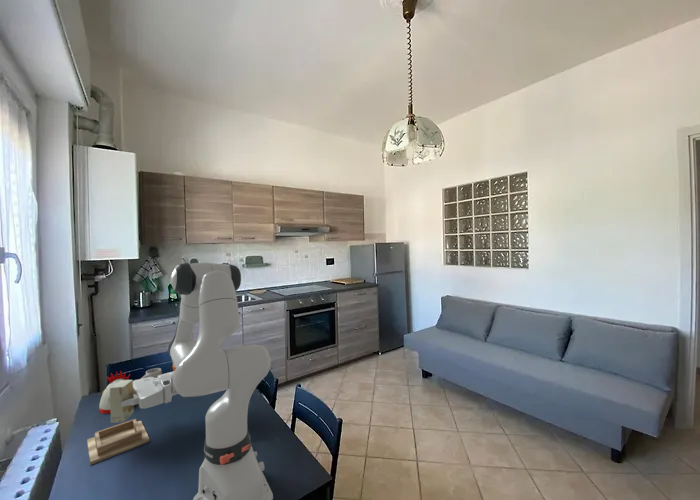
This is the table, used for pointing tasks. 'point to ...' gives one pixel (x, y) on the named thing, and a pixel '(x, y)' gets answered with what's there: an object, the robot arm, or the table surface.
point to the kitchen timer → (105, 399)
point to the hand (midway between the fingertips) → (118, 399)
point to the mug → (153, 373)
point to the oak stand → (116, 440)
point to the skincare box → (117, 395)
